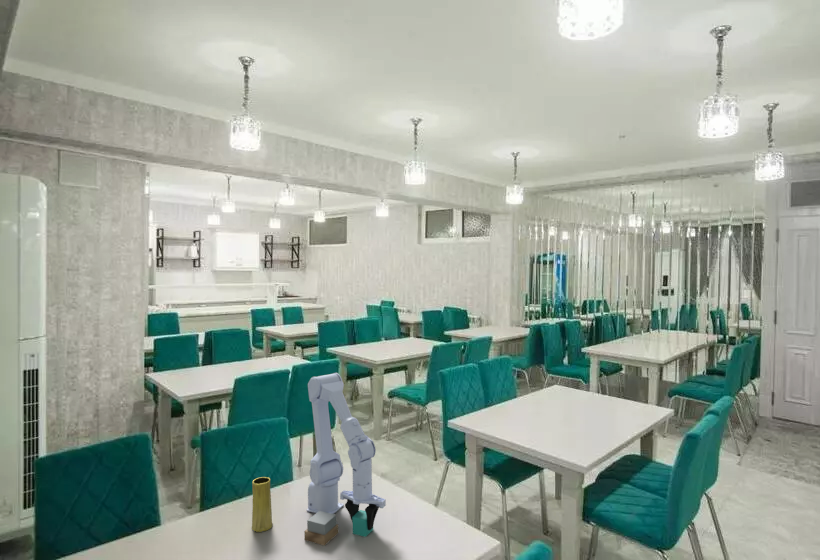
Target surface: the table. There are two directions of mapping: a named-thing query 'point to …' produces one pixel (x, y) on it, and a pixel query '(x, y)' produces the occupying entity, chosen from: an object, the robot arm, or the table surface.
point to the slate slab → (321, 522)
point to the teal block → (360, 524)
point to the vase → (261, 505)
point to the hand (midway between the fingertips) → (363, 526)
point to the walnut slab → (321, 536)
